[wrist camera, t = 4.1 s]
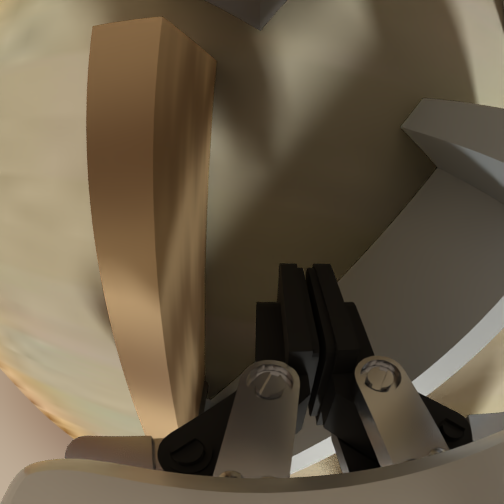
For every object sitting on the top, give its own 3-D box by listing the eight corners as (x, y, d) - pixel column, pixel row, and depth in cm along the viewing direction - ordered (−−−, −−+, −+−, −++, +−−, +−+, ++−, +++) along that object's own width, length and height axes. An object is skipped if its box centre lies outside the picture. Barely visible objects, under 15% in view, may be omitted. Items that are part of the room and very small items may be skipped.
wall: (433, 84, 11) (585, 103, 3) (482, 146, 12) (612, 210, 4) (157, 403, 22) (133, 500, 14) (205, 423, 23) (192, 517, 15)
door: (208, 393, 21) (193, 493, 13) (183, 389, 20) (163, 488, 13) (220, 61, 11) (166, 11, 4) (178, 61, 11) (79, 25, 4)
